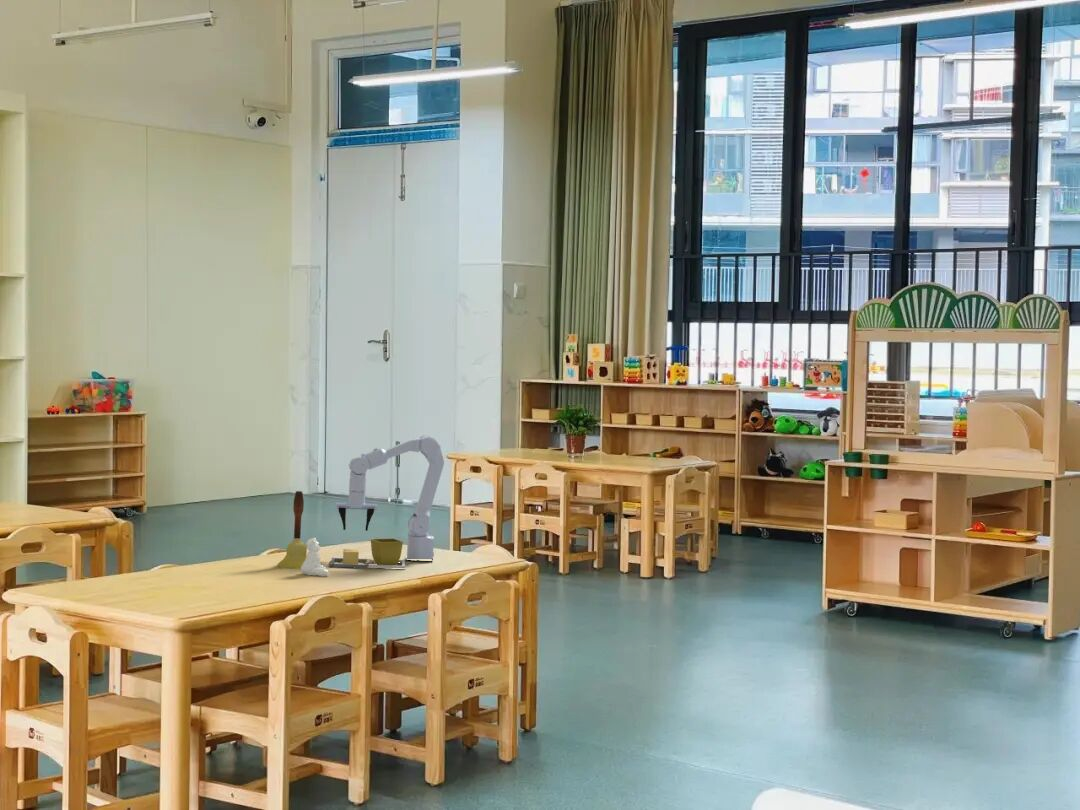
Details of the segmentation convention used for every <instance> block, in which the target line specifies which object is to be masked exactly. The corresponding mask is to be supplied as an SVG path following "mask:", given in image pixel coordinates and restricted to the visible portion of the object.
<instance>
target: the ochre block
mask: <svg viewBox="0 0 1080 810" xmlns="http://www.w3.org/2000/svg"><path fill="white" fill-rule="evenodd" d="M342 549H343V548H342ZM342 552H343V553H342V554H343V555H342V558H343V562H342V564H359V563H358V559H359V549H348V548H347V549H343V551H342Z"/></svg>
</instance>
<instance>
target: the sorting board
mask: <svg viewBox="0 0 1080 810" xmlns="http://www.w3.org/2000/svg"><path fill="white" fill-rule="evenodd" d="M335 561H341V562H340V563H336V562H335ZM358 562H367V563H360V564H359V563H358V564H343V557H331V559H330V563H329V568H332V567H355V568H354V569H363V568H405V569H406V565H405V564H406V559H405V560H404V559H399V561H398V562H400V563H402V564H401V565H396V566H395V565H376V564H371V563H370V562H375V561H374V559H373V558H358ZM369 564H370V565H369Z"/></svg>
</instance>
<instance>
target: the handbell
mask: <svg viewBox="0 0 1080 810" xmlns="http://www.w3.org/2000/svg"><path fill="white" fill-rule="evenodd" d="M303 495H304V494H303V491H302V490H297V491H295V493H294V498H293V504H292V505H293V506H292V507H293V514H294V526H293V527H294V528H293V530H294V531H293V539H292V541H291V542H289V543H288V544H287V546H286V554H285V556H284V557H283V559H281V560H280V561H279V562H278V563H277V567H281V568H285V569H301V566H302V564H303V562H304V561H305V560H306V557H307V554H308V552H307V551H308V548H307V546H306V543H305V542H303V541H302V540H301V539H302V538H301V533H302V531H301V529H302V515H303V512H304V507H305V506H304V502H305V501H304V499H305V498H304V496H303Z"/></svg>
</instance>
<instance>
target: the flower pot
mask: <svg viewBox="0 0 1080 810" xmlns="http://www.w3.org/2000/svg"><path fill="white" fill-rule="evenodd" d="M403 542H404V541H401V540H399V539H396V538H392V537H391V538H370V546H371V548H370V549H371V555H372V559H374V561H375V563H374V564H375V565H376V564H377V565H395V566H397V565H398V564H397V563H398V561H399V560H401V557H402V556H401V555H402V550H403V544H404V543H403Z"/></svg>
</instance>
